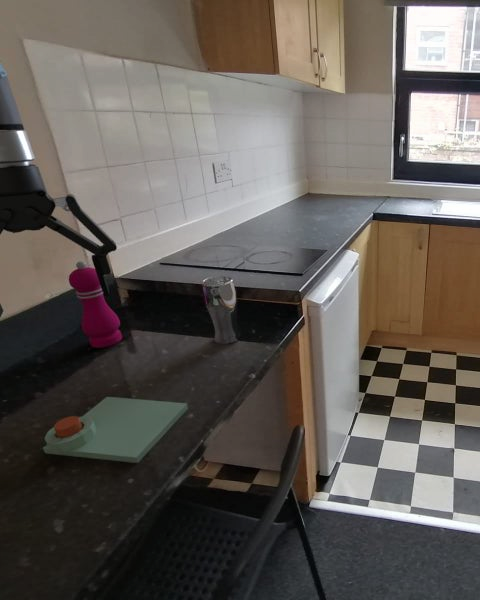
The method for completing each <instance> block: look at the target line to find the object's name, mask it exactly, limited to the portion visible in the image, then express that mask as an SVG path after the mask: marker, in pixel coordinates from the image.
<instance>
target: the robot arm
mask: <svg viewBox="0 0 480 600" xmlns="http://www.w3.org/2000/svg"><path fill="white" fill-rule="evenodd" d="M34 160H36V157H35V154H34V151H33V148H32V145H31V143H30V139H29V136H28V133H27V130H25V127H24V123H23V120H22V117H21V114H20V111H19V108H18V105H17V102H16V100H15V97H14V94H13V90H12V88H11V85H10V82H9V79H8V74H7V71H6V69H4V66H3V65H2V62H1V61H0V235H1V234H2V233H3V232H4V231H6V232H9V233H12V234H16V233H17V234H18V233H22V232H25V231H32V232H34V231H41V230H42V229H44V228H46V227H47V228H49V229H51V230H52V231H54V232H56V233H58V234H59V235H62V237H65V238H66V239H68V240H69V241H72V242H73V243H75V244H76V245H78V246H79V247H81V248H83V249H85V250H86V251H87V252H89V253H91V261H92V264H93V268H94V269H95V270H96V273H97V276H98V279H99V282H100V286H101V288H102V291H103V297H109V296H110V289H109V287H108V283H107V281H106V276H109V275H111V273H112V271H111V266H110V264H109V263H110V262H109V260H108V257H107V256H108V254H110V253H112V252H115V251H117V249H118V246H117V243H116V242H115V241H114V240H113V239H112V238H111V236H109V235H108V234H107V233H106V232H105V231H104V230H103V229H102V227H100V225H99V224H97V223H96V221H94V220H93V219H92V218H91V216H89V214H87V212H85V211H84V210H83V208H81V206H80V204H79V201H78V199H77V197H76V196H75V195H74V194H72V193H69V194H66V196H61V197H56V198H52V197H51V195H49V193H48V191H47V188H46V185H45V183H44V179H43V176H42V174H41V170H40V167H39V166H37V165H36V164H33V163H32V162H33V161H34ZM56 207H59V208H62V209H63V211H65V212H71V213H72V215H73V217H75V218H76V219H77V220H78V221H79V222H80V223H81V224H82V225H83V226H84V227H85V228H86V229H87V230H88V231H89V232H90V234H92V235H93V236H94V237H95V238H96V239H97V240H98V241H99V242H100V243H101V244H102V245H100V244H98V243H96V242H95V241H93V240H91V239H90V238H88V237H87V236H85V235H83V234H82V233H80V232H78V231H77V230H75V229H74V228H72V227H71V226H69V225H67V224H66V223H64V222H62V221H61V220H60V219H59V218H57V217H55V216H54V215H53V213H54V211H55V209H56ZM3 313H4V309H3V306H2V304H1V303H0V318H1V317H2V315H3Z"/></svg>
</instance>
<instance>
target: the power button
mask: <svg viewBox="0 0 480 600" xmlns="http://www.w3.org/2000/svg"><path fill="white" fill-rule="evenodd" d="M79 417H80V416H76V415H71V416H67V417H64V418H62V419H60V420H59V421H57V422H56V423H54V425H53V427H54V429H55V431H56V434H57V436H58V437H59V438H65V437H70V436H72V435H74V434H76V433H78V432H79V431H80V430H82V424H81V422H80V419H79Z"/></svg>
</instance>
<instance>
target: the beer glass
mask: <svg viewBox="0 0 480 600" xmlns="http://www.w3.org/2000/svg"><path fill="white" fill-rule="evenodd" d="M233 279H234V278H233V277H231V276H229V275H215V276H211V277H207V278H205V279H203V280H202V281H201V284H200V285H201V290H202V297H203V302H204V306H205V309H206V311H207V315H208V316H209V318H210V321H211V323H212V326H213V330H214V336H213V337H214V338H213V339H214V342H215V343H216V344H218V345H231V344H234V343H236V342H239V341H240V339H241V338H242V335H243V334H242V332H241V330H240V328H239V323H238V295H237V291H236V288H235V287H236V286H235V284H234V280H233Z"/></svg>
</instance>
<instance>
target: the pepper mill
mask: <svg viewBox="0 0 480 600" xmlns="http://www.w3.org/2000/svg"><path fill="white" fill-rule="evenodd" d="M75 266H76V269H74V270H72V272H71V273H69V275H68V283H69V286H70V287H71V288H73V289H75V290H76V291H75V294H76V297H77V298H78V299H80V301H81V304H82V311H83V312H82V318H81V330H82V332H83V334H85V335H86V336H89V337H88V341H89V344H90V346H91V347H92V348H95V349H96V348H99V349H101V348H108V347H111V346H114V345H116V344H118V343H119V342H121V341H122V340H123V335H122V332H121V330H119V328H120V327H121V321H120V318H119V316H118V315H117V313H115V312H114V310H112V309H111V307H110V306H109V305H108V304H107V302H106V300H105V296H104V294H103V291H102V288H101V285H100V282H99V279H98V276H97V273H96V270H95V267H91V266H89V267H88V266H87V263H86V262H85V261H82V260H81V261H78V262H76V264H75Z"/></svg>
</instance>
